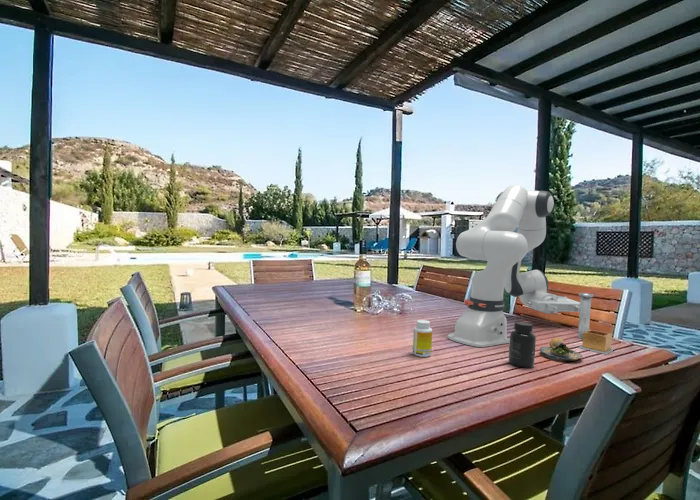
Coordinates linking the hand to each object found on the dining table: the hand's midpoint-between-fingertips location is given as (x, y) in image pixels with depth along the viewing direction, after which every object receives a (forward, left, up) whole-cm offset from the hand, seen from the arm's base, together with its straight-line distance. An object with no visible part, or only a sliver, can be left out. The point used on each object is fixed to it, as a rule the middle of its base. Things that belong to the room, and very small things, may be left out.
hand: (568, 309), depth 149 cm
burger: (-37, -11, -9) cm, 40 cm away
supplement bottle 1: (-73, +15, -9) cm, 75 cm away
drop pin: (-5, -7, -9) cm, 13 cm away
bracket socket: (-17, -15, -9) cm, 25 cm away
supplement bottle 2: (-55, -7, -9) cm, 56 cm away
